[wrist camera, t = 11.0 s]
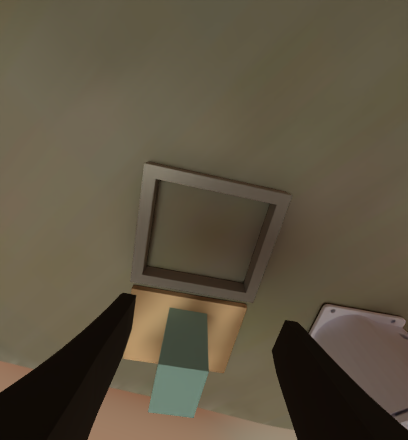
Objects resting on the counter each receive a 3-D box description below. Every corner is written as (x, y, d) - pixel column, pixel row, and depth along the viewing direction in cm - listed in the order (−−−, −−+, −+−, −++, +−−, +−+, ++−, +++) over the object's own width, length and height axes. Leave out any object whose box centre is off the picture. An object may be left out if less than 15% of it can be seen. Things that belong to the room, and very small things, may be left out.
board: (245, 304, 23) (247, 308, 22) (223, 368, 26) (223, 373, 25) (133, 284, 22) (131, 288, 21) (125, 353, 25) (123, 358, 24)
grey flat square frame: (285, 191, 18) (292, 195, 17) (249, 292, 22) (253, 302, 21) (148, 161, 17) (144, 163, 16) (135, 272, 21) (130, 281, 20)
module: (207, 313, 22) (208, 371, 17) (195, 353, 24) (193, 417, 19) (169, 307, 22) (158, 364, 16) (160, 348, 24) (148, 412, 18)
